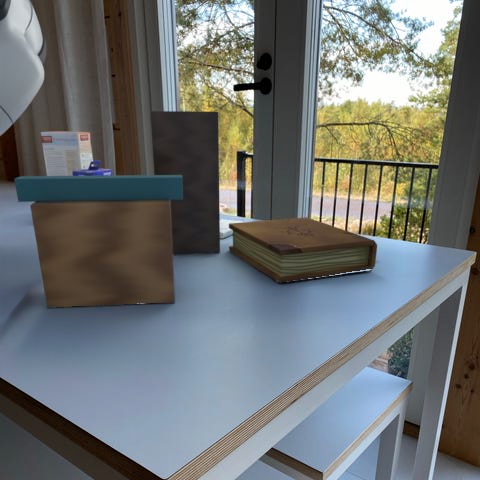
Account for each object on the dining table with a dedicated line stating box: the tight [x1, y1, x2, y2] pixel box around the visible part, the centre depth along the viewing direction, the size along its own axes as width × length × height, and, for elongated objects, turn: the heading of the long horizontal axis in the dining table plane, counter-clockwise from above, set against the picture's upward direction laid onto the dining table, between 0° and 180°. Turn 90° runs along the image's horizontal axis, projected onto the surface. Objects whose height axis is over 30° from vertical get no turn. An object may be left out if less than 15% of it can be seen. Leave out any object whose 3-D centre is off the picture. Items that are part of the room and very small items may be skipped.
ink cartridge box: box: [72, 160, 113, 176], centre depth 126 cm, size 10×6×14 cm, turn 154°
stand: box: [150, 110, 221, 255], centre depth 93 cm, size 12×8×26 cm, turn 97°
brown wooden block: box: [29, 200, 176, 309], centre depth 69 cm, size 18×8×14 cm, turn 97°
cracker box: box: [40, 130, 94, 176], centre depth 144 cm, size 14×6×21 cm, turn 66°
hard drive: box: [220, 218, 243, 240], centre depth 112 cm, size 2×8×12 cm
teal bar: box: [14, 174, 183, 203], centre depth 65 cm, size 22×3×3 cm, turn 97°
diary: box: [228, 216, 378, 283], centre depth 89 cm, size 23×19×6 cm
